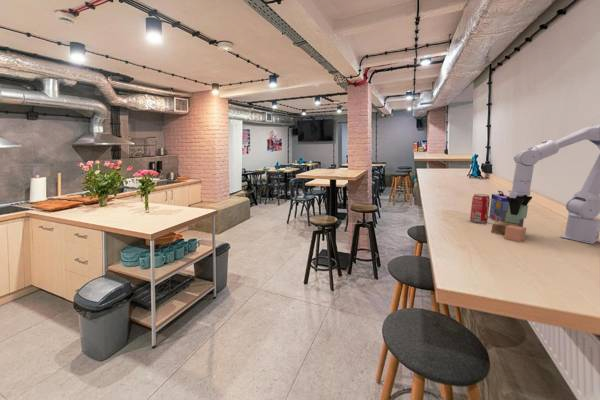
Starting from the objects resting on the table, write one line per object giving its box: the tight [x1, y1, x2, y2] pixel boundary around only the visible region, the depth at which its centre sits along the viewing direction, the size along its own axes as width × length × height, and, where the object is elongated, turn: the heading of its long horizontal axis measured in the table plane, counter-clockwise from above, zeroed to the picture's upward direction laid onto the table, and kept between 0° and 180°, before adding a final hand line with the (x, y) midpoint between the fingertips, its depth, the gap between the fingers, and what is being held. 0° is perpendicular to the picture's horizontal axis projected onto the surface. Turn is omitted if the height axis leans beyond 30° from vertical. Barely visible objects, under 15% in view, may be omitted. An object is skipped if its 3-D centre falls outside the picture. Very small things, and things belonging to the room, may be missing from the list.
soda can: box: [470, 193, 491, 224], centre depth 138 cm, size 7×7×13 cm
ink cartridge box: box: [488, 190, 509, 222], centre depth 141 cm, size 10×6×14 cm, turn 174°
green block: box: [507, 205, 529, 220], centre depth 118 cm, size 5×5×5 cm
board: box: [501, 209, 525, 227], centre depth 129 cm, size 5×8×8 cm, turn 51°
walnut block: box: [491, 221, 518, 236], centre depth 122 cm, size 7×7×4 cm
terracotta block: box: [503, 225, 527, 243], centre depth 113 cm, size 5×5×5 cm
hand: (516, 213), depth 119 cm, fingers closed on green block, 5 cm apart
